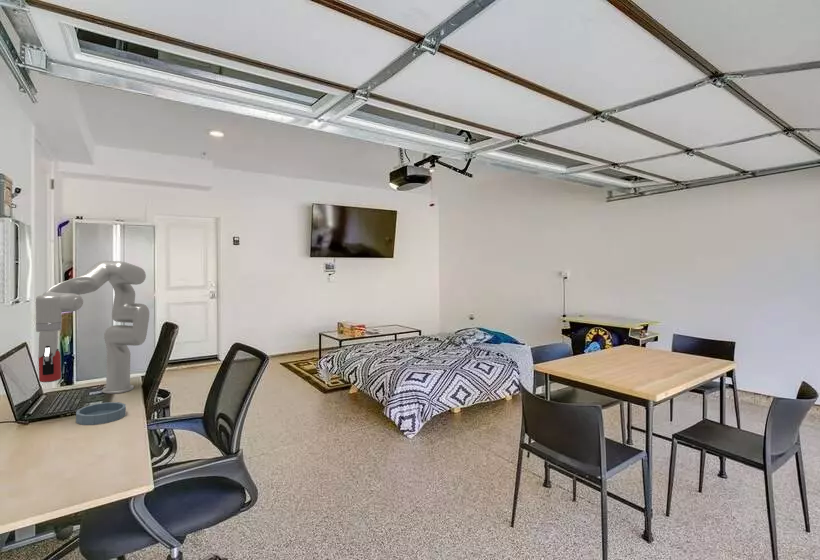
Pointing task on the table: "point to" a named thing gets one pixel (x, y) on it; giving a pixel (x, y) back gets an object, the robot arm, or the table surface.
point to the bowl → (100, 413)
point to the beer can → (57, 369)
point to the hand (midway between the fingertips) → (49, 371)
